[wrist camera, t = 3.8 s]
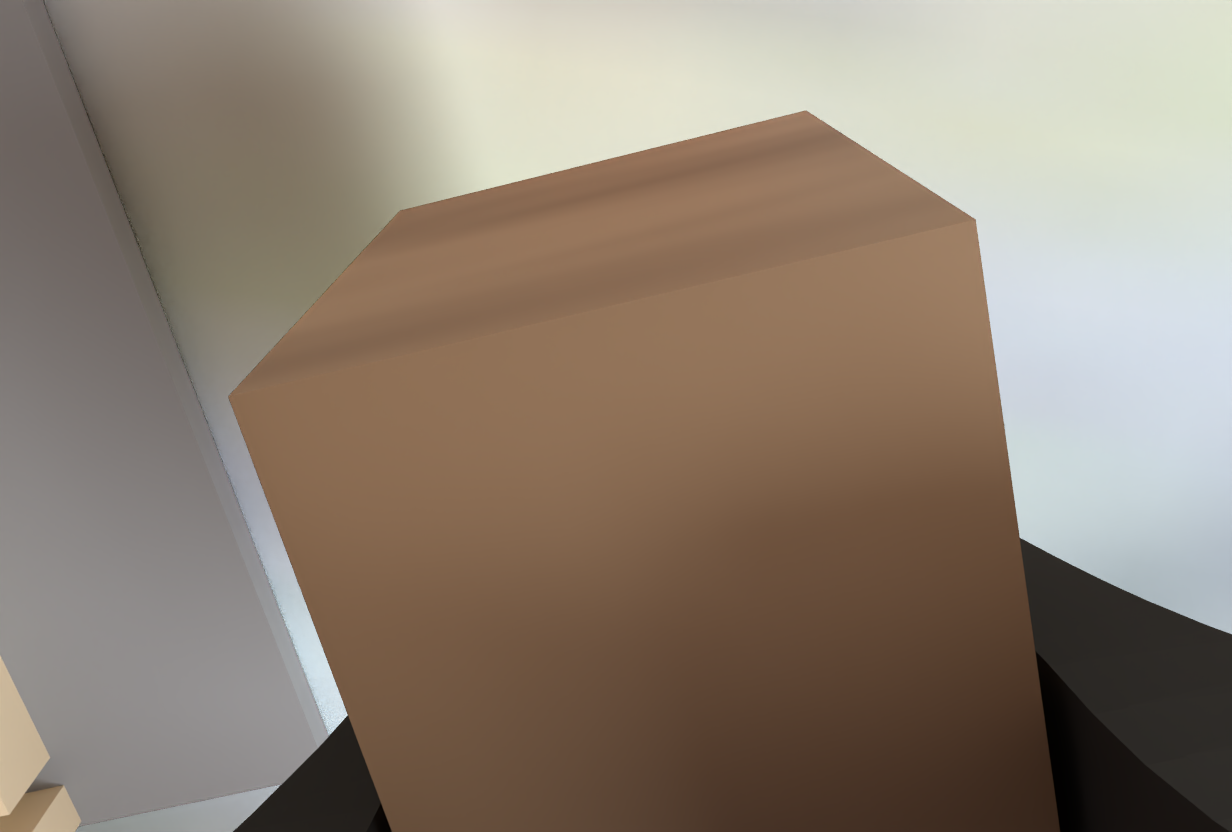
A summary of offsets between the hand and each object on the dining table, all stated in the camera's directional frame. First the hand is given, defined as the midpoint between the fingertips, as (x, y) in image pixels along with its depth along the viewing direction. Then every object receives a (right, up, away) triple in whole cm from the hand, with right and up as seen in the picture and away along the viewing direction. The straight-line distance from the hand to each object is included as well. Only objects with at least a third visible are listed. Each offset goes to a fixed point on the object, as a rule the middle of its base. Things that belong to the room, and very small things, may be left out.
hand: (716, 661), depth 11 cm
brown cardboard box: (0, +1, +1) cm, 2 cm away
